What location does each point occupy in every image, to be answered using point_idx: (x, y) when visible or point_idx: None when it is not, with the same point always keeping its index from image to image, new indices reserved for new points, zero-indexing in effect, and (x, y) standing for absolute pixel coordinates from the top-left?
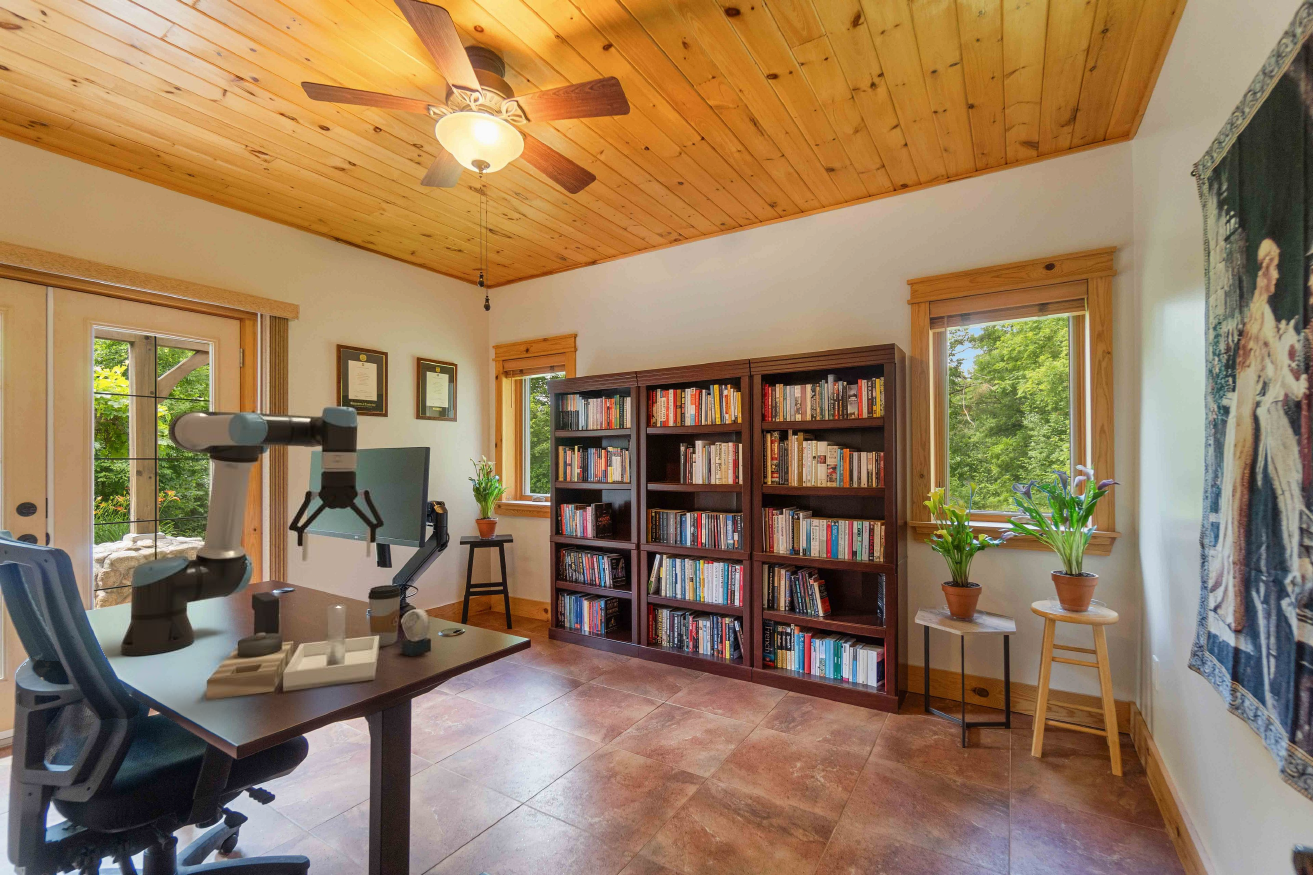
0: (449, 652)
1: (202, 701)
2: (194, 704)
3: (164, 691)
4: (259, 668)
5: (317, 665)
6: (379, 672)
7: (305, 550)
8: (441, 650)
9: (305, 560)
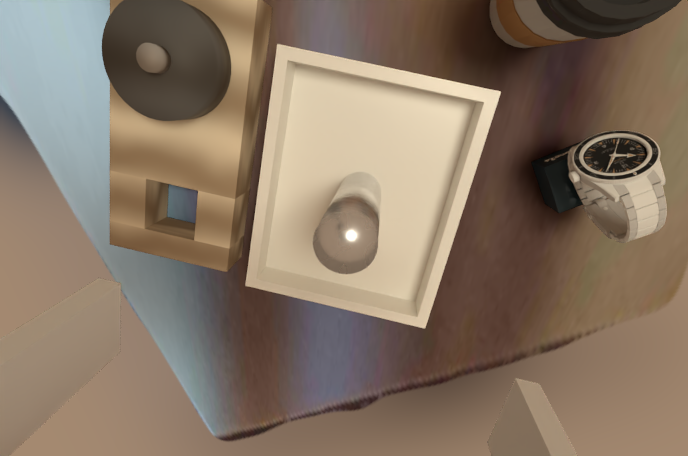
0: None
1: None
2: None
3: (45, 126)
4: (196, 224)
5: (322, 169)
6: None
7: (61, 401)
8: None
9: (116, 352)
